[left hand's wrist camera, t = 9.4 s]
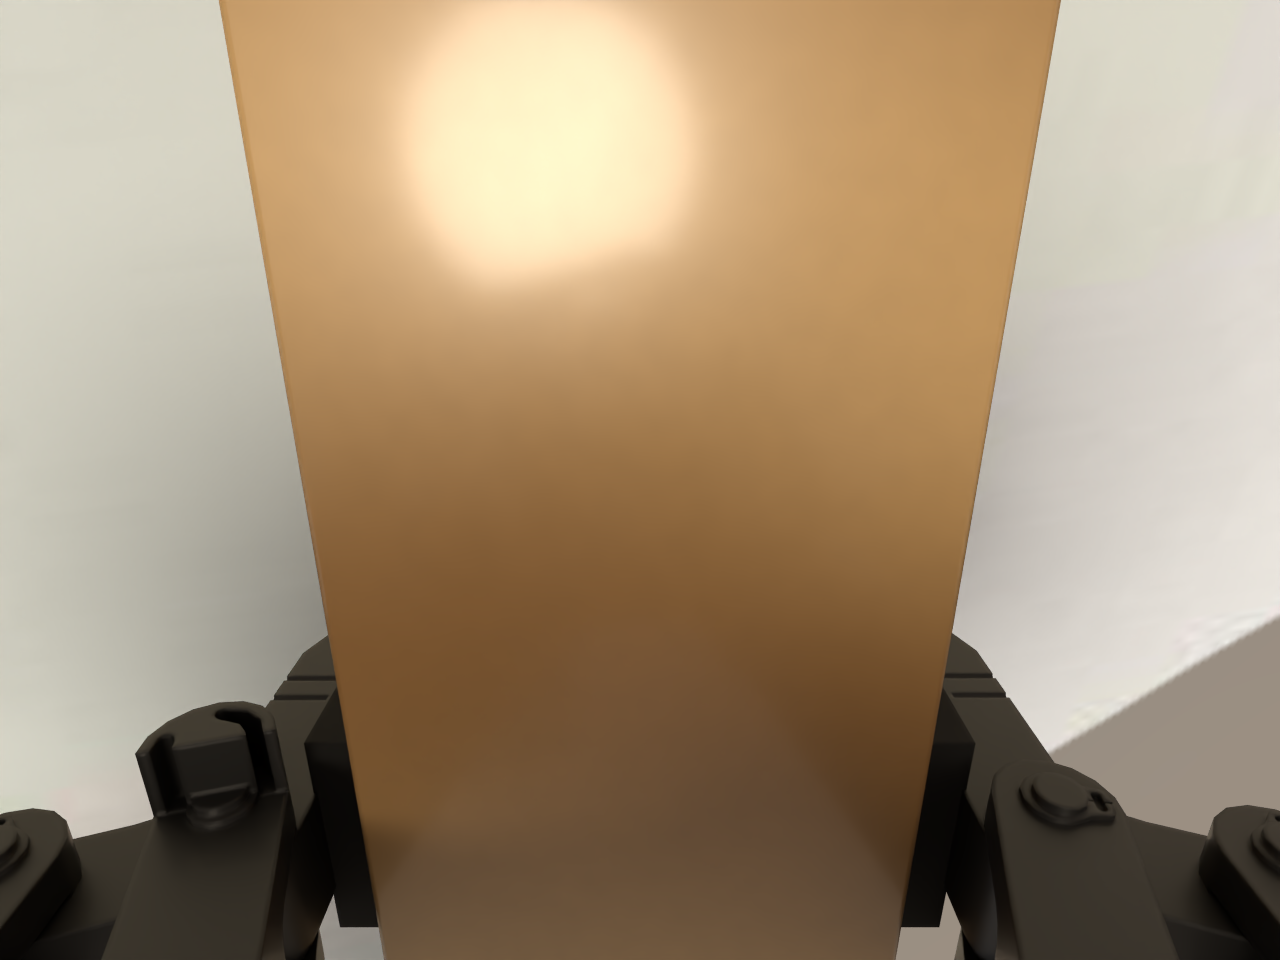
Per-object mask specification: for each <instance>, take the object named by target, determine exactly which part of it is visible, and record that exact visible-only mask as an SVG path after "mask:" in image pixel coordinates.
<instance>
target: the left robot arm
mask: <svg viewBox="0 0 1280 960" xmlns="http://www.w3.org/2000/svg"><path fill="white" fill-rule="evenodd" d="M135 755H136V758H137V762H138V765H139V768H140V772H141V775H142V778H143V782H144V785H145V788H146V792H147V795H148V798H149V802H150V805H151V808H152V812H153V815H154V817H153V819H152V820H149V821H145V822H142V823H139V824H136V825H132V826H128V827H123V828H119V829H115V830H110V831H106V832H102V833H98V834H93V835H89V836H85V837H81V838H76V839H73V838H72V835H71V832H70V830H69V827H68V824H67V821H66V820H65V819H63V818H62V817H61V816H60V815H58V814H57V813H56V812H55V811H49V810H42V809H34V808H32V809H26V810H20V811H13V812H7V813H3V814H1V815H0V960H324V952H323V946H322V940H321V935H320V931H319V928H320V925H321V923H322V921H323V918H324V916H325V913H326V911H327V909H328V906H329V904H330V901H331V899H332V897H333V894H334V898H335V903H336V908H337V913H338V918H339V923H340V927H379V926H378V920H377V914H376V909H375V903H374V897H373V891H372V885H371V880H370V874H369V868H368V862H367V856H366V851H365V845H364V839H363V833H362V827H361V822H360V816H359V810H358V804H357V798H356V793H355V787H354V781H353V775H352V769H351V764H350V758H349V752H348V746H347V740H346V735H345V729H344V723H343V717H342V711H341V706H340V700H339V694H338V688H337V682H336V677H335V671H334V665H333V659H332V654H331V648H330V642H329V636H326V637H325V638H324V639H322V640H321V641H319V642H318V643H317V644H315V645H314V646H313V647H311V648H310V649H308V650H307V651H306V652H304V653H303V654H302V656H301V657H300V659H299V660H298V662H297V663H296V664H295V666H294V667H293V669H292V670H291V672H290V673H289V675H288V676H287V681H284V682H283V683H282V685H281V686H280V688H279V689H278V691H277V692H276V693H275V695H274V700H271V701H270V702H269V704H268V705H267V706H266V708H264V707H263V706H261V705H257V704H253V703H249V702H244V701H240V702H222V703H216V704H212V705H208V706H205V707H201V708H197V709H193V710H191V711H189V712H187V713H185V714H183V715H181V716H178V717H176V718H174V719H172V720H170V721H168V722H167V723H165V724H164V725H163V726H161V727H160V728H159V729H157V730H156V731H155V732H153V733H152V734H151V735H149V736H148V737H147V738H146V740H145V741H144V742H143V744H142V745H141V747H140V748H139V749H138V751H137V752H136V753H135ZM946 892H947V894H948V897H949V899H950V901H951V904H952V906H953V908H954V911H955V913H956V916H957V918H958V920H959V923H960V925H961V931H960V935H959V940H958V945H957V950H956V954H955V959H954V960H1280V811H1278V810H1275V809H1269V808H1263V807H1256V806H1250V805H1244V806H1236V807H1229V808H1225V809H1224V810H1223V811H1222V812H1220V813H1219V814H1218V815H1217V816H1215V817H1214V819H1213V822H1212V825H1211V828H1210V830H1209V833H1208V836H1205V835H1200V834H1196V833H1192V832H1187V831H1183V830H1179V829H1175V828H1170V827H1166V826H1162V825H1157V824H1153V823H1149V822H1145V821H1142V820H1138V819H1135V818H1132V817H1128V816H1126V814H1125V813H1124V811H1123V809H1122V808H1121V806H1120V805H1119V803H1118V802H1117V800H1116V798H1115V797H1114V796H1113V795H1111V794H1110V793H1109V792H1108V791H1107V790H1106V789H1105V788H1103V787H1102V786H1101V785H1100V784H1099V783H1097V782H1096V781H1095V780H1093V779H1091V778H1089V777H1087V776H1085V775H1084V774H1082V773H1080V772H1078V771H1076V770H1074V769H1072V768H1069V767H1066V766H1062V765H1059V764H1056V763H1054V762H1053V760H1052V759H1051V757H1050V756H1049V754H1048V753H1047V751H1046V750H1045V749H1044V747H1043V746H1042V744H1041V743H1040V741H1039V740H1038V738H1037V737H1036V736H1035V734H1034V733H1033V731H1032V730H1031V728H1030V727H1029V725H1028V724H1027V723H1026V721H1025V720H1024V718H1023V717H1022V715H1021V714H1020V713H1019V711H1018V710H1017V708H1016V707H1015V705H1014V704H1013V702H1012V701H1011V700H1010V698H1006V692H1005V691H1004V690H1003V688H1002V687H1001V685H1000V684H999V682H998V681H997V679H996V678H993V676H992V672H991V671H990V669H989V668H988V666H987V665H986V664H985V662H984V661H983V659H982V658H981V656H980V655H979V654H978V652H977V651H976V650H975V649H973V648H972V647H971V646H969V645H968V644H966V643H965V642H964V641H962V640H961V639H960V638H958V637H957V636H955V635H954V634H953V633H952V634H951V640H950V646H949V652H948V658H947V663H946V669H945V675H944V681H943V687H942V692H941V698H940V704H939V710H938V716H937V721H936V727H935V733H934V739H933V745H932V750H931V756H930V762H929V768H928V774H927V779H926V785H925V791H924V797H923V802H922V808H921V814H920V820H919V826H918V831H917V837H916V843H915V849H914V855H913V860H912V866H911V872H910V878H909V884H908V889H907V895H906V901H905V907H904V913H903V918H902V924H901V927H939V926H940V921H941V916H942V910H943V905H944V900H945V895H946Z"/></svg>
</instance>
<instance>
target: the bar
mask: <svg viewBox="0 0 1280 960" xmlns="http://www.w3.org/2000/svg"><path fill="white" fill-rule="evenodd" d="M1060 2H1061V0H219V4H220V10H221V16H222V22H223V27H224V33H225V39H226V45H227V51H228V56H229V62H230V68H231V74H232V80H233V85H234V91H235V97H236V103H237V108H238V114H239V120H240V126H241V132H242V137H243V143H244V149H245V155H246V161H247V166H248V172H249V178H250V184H251V190H252V195H253V201H254V207H255V213H256V219H257V224H258V230H259V236H260V242H261V248H262V253H263V259H264V265H265V271H266V277H267V282H268V288H269V294H270V300H271V306H272V311H273V317H274V323H275V329H276V335H277V340H278V346H279V352H280V358H281V364H282V369H283V375H284V381H285V387H286V393H287V398H288V404H289V410H290V416H291V422H292V427H293V433H294V439H295V445H296V451H297V456H298V462H299V468H300V474H301V480H302V485H303V491H304V497H305V503H306V509H307V514H308V520H309V526H310V532H311V538H312V543H313V549H314V555H315V561H316V567H317V572H318V578H319V584H320V590H321V596H322V601H323V607H324V613H325V619H326V625H327V630H328V636H329V642H330V648H331V654H332V659H333V665H334V671H335V677H336V682H337V688H338V694H339V700H340V706H341V711H342V717H343V723H344V729H345V735H346V740H347V746H348V752H349V758H350V764H351V769H352V775H353V781H354V787H355V793H356V798H357V804H358V810H359V816H360V822H361V827H362V833H363V839H364V845H365V851H366V856H367V862H368V868H369V874H370V880H371V885H372V891H373V897H374V903H375V909H376V914H377V920H378V926H379V932H380V938H381V943H382V949H383V955H384V960H895V959H896V953H897V947H898V942H899V936H900V930H901V924H902V918H903V913H904V907H905V901H906V895H907V889H908V884H909V878H910V872H911V866H912V860H913V855H914V849H915V843H916V837H917V831H918V826H919V820H920V814H921V808H922V802H923V797H924V791H925V785H926V779H927V774H928V768H929V762H930V756H931V750H932V745H933V739H934V733H935V727H936V721H937V716H938V710H939V704H940V698H941V692H942V687H943V681H944V675H945V669H946V663H947V658H948V652H949V646H950V640H951V634H952V629H953V623H954V617H955V611H956V605H957V600H958V594H959V588H960V582H961V576H962V571H963V565H964V559H965V553H966V547H967V542H968V536H969V530H970V524H971V518H972V513H973V507H974V501H975V495H976V489H977V484H978V478H979V472H980V466H981V460H982V455H983V449H984V443H985V437H986V431H987V426H988V420H989V414H990V408H991V402H992V397H993V391H994V385H995V379H996V373H997V368H998V362H999V356H1000V350H1001V344H1002V339H1003V333H1004V327H1005V321H1006V315H1007V310H1008V304H1009V298H1010V292H1011V287H1012V281H1013V275H1014V269H1015V263H1016V258H1017V252H1018V246H1019V240H1020V234H1021V229H1022V223H1023V217H1024V211H1025V205H1026V200H1027V194H1028V188H1029V182H1030V176H1031V171H1032V165H1033V159H1034V153H1035V147H1036V142H1037V136H1038V130H1039V124H1040V118H1041V113H1042V107H1043V101H1044V95H1045V89H1046V84H1047V78H1048V72H1049V66H1050V60H1051V55H1052V49H1053V43H1054V37H1055V31H1056V26H1057V20H1058V14H1059V8H1060Z"/></svg>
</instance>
